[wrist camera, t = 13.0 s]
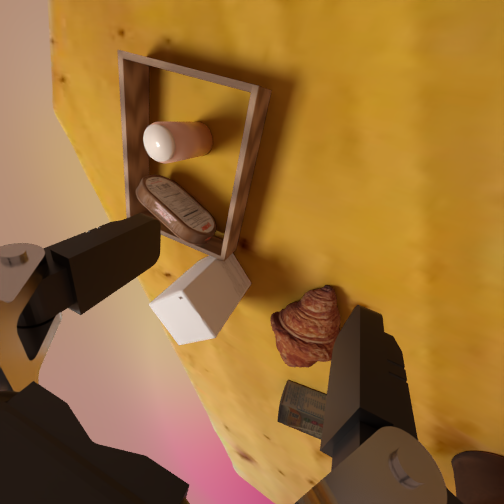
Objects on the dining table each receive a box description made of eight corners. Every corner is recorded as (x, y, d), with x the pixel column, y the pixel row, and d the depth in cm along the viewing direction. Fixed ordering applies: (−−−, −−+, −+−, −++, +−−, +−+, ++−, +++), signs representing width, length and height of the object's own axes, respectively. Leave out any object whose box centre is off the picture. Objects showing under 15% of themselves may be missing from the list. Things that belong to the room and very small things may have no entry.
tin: (158, 181, 46) (122, 191, 39) (164, 167, 44) (128, 175, 37) (218, 235, 47) (193, 254, 40) (226, 224, 45) (201, 242, 38)
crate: (144, 57, 37) (117, 49, 33) (271, 90, 33) (258, 85, 29) (145, 211, 51) (126, 219, 47) (236, 249, 46) (223, 261, 42)
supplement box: (197, 260, 51) (145, 303, 39) (229, 245, 47) (181, 289, 34) (220, 295, 53) (177, 347, 41) (253, 284, 49) (216, 339, 36)
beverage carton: (364, 431, 55) (365, 464, 50) (282, 397, 61) (274, 423, 56) (375, 411, 52) (376, 445, 46) (286, 377, 57) (278, 403, 52)
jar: (187, 118, 39) (141, 116, 31) (214, 126, 38) (174, 127, 30) (184, 150, 41) (141, 157, 33) (210, 159, 40) (172, 169, 32)
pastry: (362, 356, 47) (362, 394, 40) (289, 358, 54) (279, 391, 48) (333, 282, 42) (328, 311, 36) (257, 296, 50) (241, 322, 43)
